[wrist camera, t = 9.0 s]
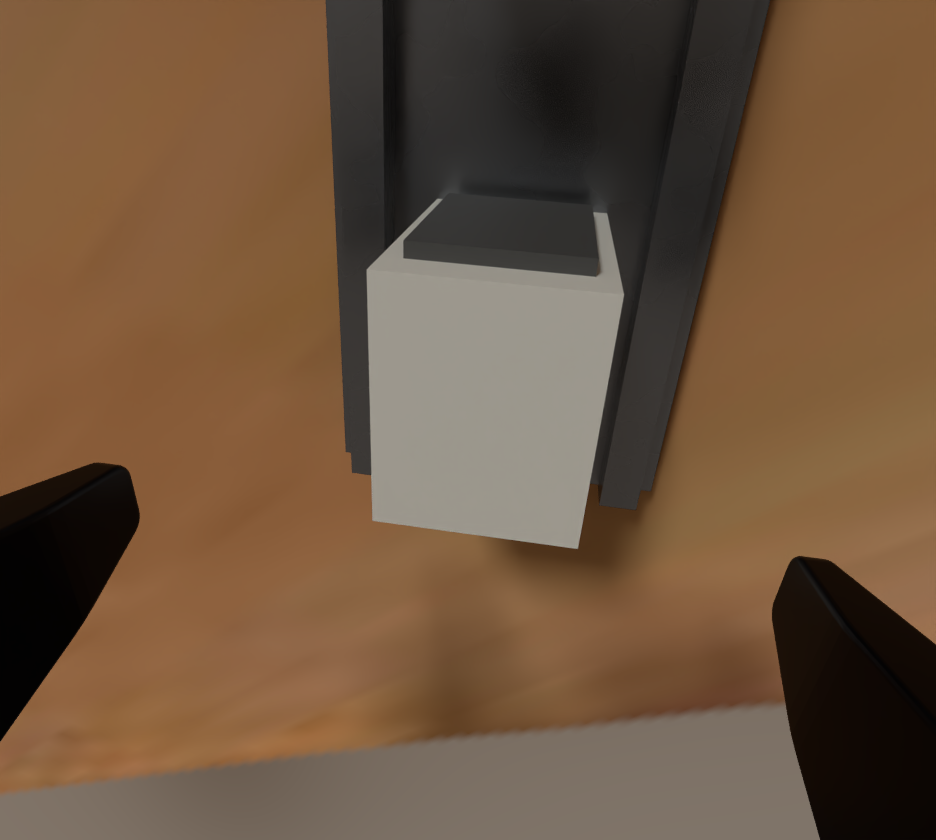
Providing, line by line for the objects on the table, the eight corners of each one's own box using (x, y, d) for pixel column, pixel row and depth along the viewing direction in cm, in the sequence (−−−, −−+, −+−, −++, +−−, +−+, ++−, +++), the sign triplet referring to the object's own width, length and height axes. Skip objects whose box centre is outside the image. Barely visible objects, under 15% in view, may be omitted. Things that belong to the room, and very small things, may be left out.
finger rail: (977, -928, 8) (1081, -1187, 7) (647, 472, 19) (654, 512, 18) (310, -875, 9) (248, -1091, 8) (355, 435, 20) (334, 470, 18)
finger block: (577, 403, 17) (577, 548, 12) (431, 386, 18) (372, 520, 13) (609, 199, 15) (627, 275, 10) (437, 185, 15) (366, 250, 10)
